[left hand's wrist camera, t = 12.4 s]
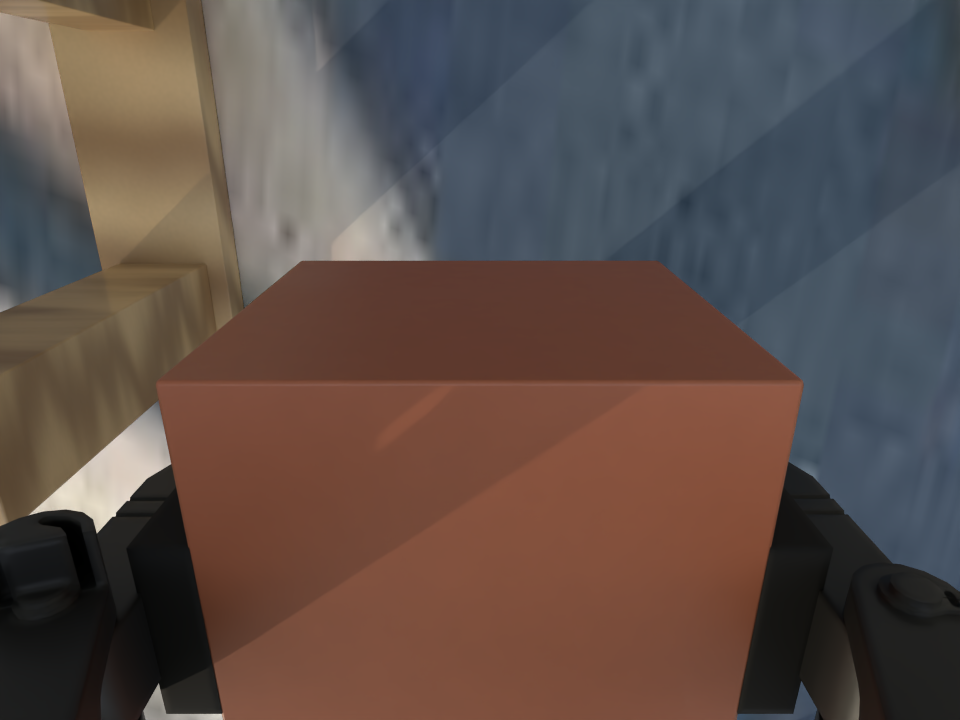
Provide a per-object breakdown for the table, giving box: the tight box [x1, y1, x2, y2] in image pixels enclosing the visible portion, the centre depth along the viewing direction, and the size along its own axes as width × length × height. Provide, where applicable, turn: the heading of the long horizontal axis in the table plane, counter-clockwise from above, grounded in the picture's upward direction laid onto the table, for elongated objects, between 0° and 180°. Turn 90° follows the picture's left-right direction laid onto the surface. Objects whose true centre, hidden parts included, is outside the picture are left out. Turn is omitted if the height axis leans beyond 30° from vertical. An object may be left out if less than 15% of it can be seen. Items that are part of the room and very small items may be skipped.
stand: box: [0, 0, 244, 526], centre depth 26 cm, size 26×7×20 cm, turn 0°
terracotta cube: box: [156, 261, 804, 720], centre depth 11 cm, size 7×7×6 cm
